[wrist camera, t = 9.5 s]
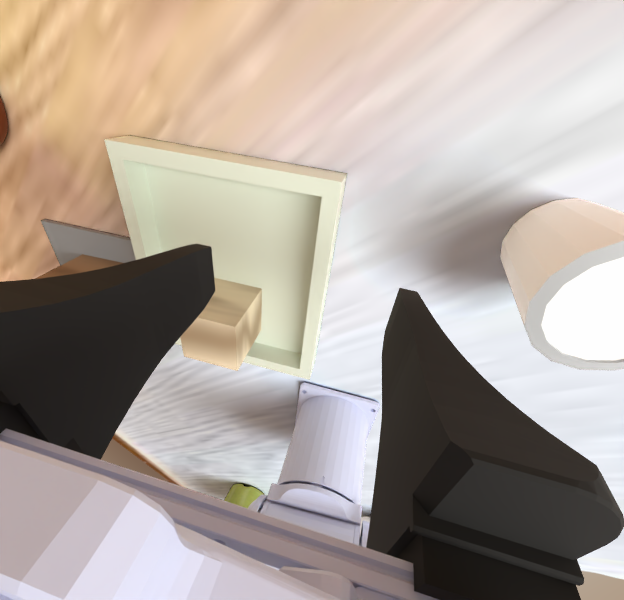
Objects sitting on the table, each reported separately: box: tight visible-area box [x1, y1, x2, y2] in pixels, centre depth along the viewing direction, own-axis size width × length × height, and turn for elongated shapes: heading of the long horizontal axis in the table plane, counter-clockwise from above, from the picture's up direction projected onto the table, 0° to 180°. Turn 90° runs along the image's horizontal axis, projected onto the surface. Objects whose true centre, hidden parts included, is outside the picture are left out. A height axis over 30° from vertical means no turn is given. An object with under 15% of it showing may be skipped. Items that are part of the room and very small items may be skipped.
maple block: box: [180, 278, 262, 371], centre depth 24 cm, size 4×4×5 cm
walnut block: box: [36, 254, 123, 279], centre depth 26 cm, size 4×4×5 cm
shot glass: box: [500, 198, 624, 370], centre depth 15 cm, size 7×7×7 cm
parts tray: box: [104, 135, 347, 380], centre depth 24 cm, size 17×15×2 cm
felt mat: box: [41, 219, 136, 266], centre depth 29 cm, size 11×10×1 cm
